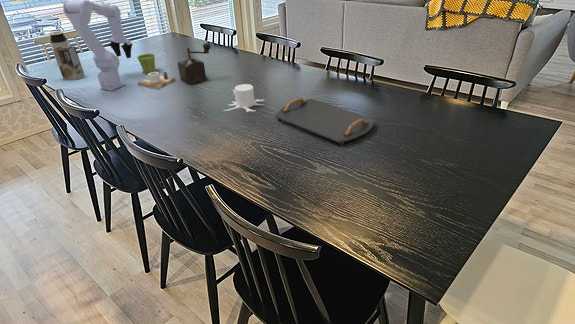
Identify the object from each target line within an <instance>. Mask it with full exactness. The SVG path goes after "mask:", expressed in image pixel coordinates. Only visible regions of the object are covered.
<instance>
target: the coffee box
mask: <svg viewBox="0 0 575 324" xmlns="http://www.w3.org/2000/svg"><path fill="white" fill-rule="evenodd" d="M52 52H53V55H54V58H55V60H56V63H57V66H58V68H59V70H60V71H59V72H60V74H61V76H62V79H63V81H64V80H80V79H82V78H83V77H85V76H86V75H85V72H84V69H83V66H82V63H81V61H80V57H79V54H78V52H77V48H76V46H71V45H68V46H66V47H58V48H56V49H54V48H53V49H52Z"/></svg>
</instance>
